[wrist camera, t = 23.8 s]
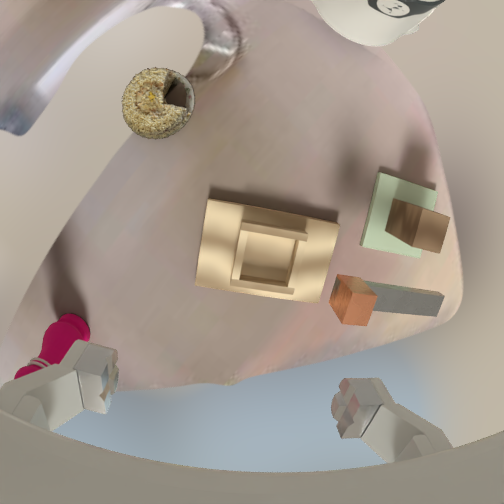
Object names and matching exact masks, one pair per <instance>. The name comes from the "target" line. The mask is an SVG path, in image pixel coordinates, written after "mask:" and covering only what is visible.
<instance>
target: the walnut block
mask: <svg viewBox="0 0 504 504" xmlns="http://www.w3.org/2000/svg"><path fill="white" fill-rule="evenodd" d="M449 220H450V217H448V216H445V215H442V214H440V213H437V212H434V211H432V210H429V209H426V208H423V207H421V206H418V205H414V204H411V203H408V202H405V201H401V200H398V199H395V198H393V201H392V205H391V209H390V213H389V216H388V220H387V224H386V228H385V231H386V232H387V233H389V234H391V235H393V236H394V237H396V238H398V239H399V240H401V241H403V242H405V243H406V244H408V245H410V246H411V247H414V248H419V249H423V250H427V251H431V252H435V253H440V251H441V248H442V245H443V241H444V238H445V235H446V231H447V227H448V224H449Z"/></svg>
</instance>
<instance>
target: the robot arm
mask: <svg viewBox="0 0 504 504" xmlns="http://www.w3.org/2000/svg"><path fill="white" fill-rule="evenodd" d="M311 1H312V2H313V4H314V5H315V7H316V9H317V11H318V12H319V14H320V15H321V17H322V18H323V19H324V21H325V22H326V23H327V24H328V25H329V26H330V27H331V28H332V29H334V30H335V31H336V32H337V33H339V34H340V35H342V36H344V37H345V38H347V39H349V40H351V41H354V42H356V43H359V44H363V45H367V46H384V45H388V44H390V43H392V42H394V41H395V40H397V39H398V38H399V37H400V36H402V35H406V34H413V33H415V32H416V31H417V30H418V29H419V23H420V22H421V21H422V20H424V19H425V18H426V17H428V16H429V15H430V14H432V13H433V11H434V9H435V8H437V7H438V6H439V5H440V4H441V3H442V2H444V1H445V0H311ZM117 360H118V353H117V350H116V349H113V348H109V347H105V346H101V345H98V344H94V343H90V342H86V341H83V340H79V339H78V340H76V341H75V342H74V344H73V345H72V346H71V348H70V349H69V351H68V352H67V353H66V355H65V356H64V358H63V359H62V361H61V362H60V364H59V365H58V364H53V365H51V366H48V367H45V368H43V369H40V370H38V371H35V372H33V373H30V374H28V375H25V376H22V377H20V378H17V379H15V380H12V381H9V382H7V383H5V384H4V385H3V386H2V387H1V389H0V504H504V431H501V432H499V433H497V434H494V435H491V436H489V437H486V438H483V439H480V440H477V441H475V442H471V443H468V444H465V445H462V446H459V447H456V448H453V446H452V445H451V443H450V442H449V440H448V439H447V437H446V436H445V434H444V433H443V431H442V430H441V429H439V428H438V427H436V426H434V425H433V424H431V423H430V422H428V421H426V420H425V419H423V418H421V417H420V416H418V415H416V414H415V413H413V412H411V411H410V410H408V409H406V408H405V407H403V406H401V405H400V404H395V402H394V400H393V399H392V397H391V395H390V394H389V392H388V390H387V389H386V387H385V385H384V384H383V382H382V381H381V380H380V379H379V378H367V379H366V378H363V379H362V378H358V379H357V378H354V379H353V378H344V379H343V380H342V381H341V383H340V385H339V388H340V391H339V392H338V393H337V394H335V395H334V398H333V400H332V405H331V411H332V415H333V418H334V419H336V420H337V421H338V424H337V429H338V432H339V434H340V437H341V438H342V439H343V438H361V440H363V441H364V442H365V443H366V444H367V445H368V446H369V447H370V448H371V449H372V450H373V451H375V452H376V453H377V454H378V455H379V456H380V457H381V458H382V459H383V460H385V462H387V464H381V465H374V466H368V467H360V468H352V469H342V470H331V471H316V472H292V473H291V472H290V473H289V472H287V473H271V472H270V473H269V472H268V473H267V472H241V471H227V470H216V469H206V468H198V467H189V466H183V465H176V464H170V463H164V462H159V461H153V460H149V459H144V458H139V457H135V456H130V455H126V454H122V453H118V452H114V451H110V450H107V449H103V448H100V447H96V446H93V445H90V444H86V443H83V442H80V441H77V440H74V439H71V438H68V437H65V436H63V435H59V434H57V433H54V432H52V431H53V430H55V429H56V428H58V427H59V426H61V425H62V424H64V423H65V422H67V421H68V420H70V419H71V418H72V417H74V416H76V415H77V414H78V413H80V412H81V411H83V410H84V409H87V410H91V411H94V412H98V413H102V414H106V413H107V411H108V409H109V406H110V404H111V395H112V394H114V393H115V391H116V388H117V384H118V378H119V369H118V367H117V366H116V365H115V364H116V362H117Z"/></svg>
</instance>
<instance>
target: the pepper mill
mask: <svg viewBox="0 0 504 504" xmlns="http://www.w3.org/2000/svg"><path fill="white" fill-rule="evenodd" d="M78 339H79V340H83V341H86V342H88V341H89V339H90V331H89V328H88V326H87V324H86V323H85V321H84V320H83V319H81V318H80V317H79V316H77V315H75V314H64V315H63V316H62V317H61V318H60V319H59V320H58V321H57V322H55V323H53V324H51V325H50V326H49V327H48V329H47V330H46V332H45V335H44V338H43V344H42V350H41V353H40V355H39V356H38V357H37V358H33V359H31V360H30V362H29V363H28V364H27V366H25V367H22V368H21V369H19V370H18V371H17V373H16V375H15V378H14V380H15V379H17V378H20V377H22V376H25V375H28V374H30V373H33V372H35V371H38V370H40V369H43V368H45V367H48V366H51V365H53V364H58V365H59V364H60V362H61V361H62V359H63V358H64V356H65V355H66V353H67V352H68V351H69V349H70V348H71V346H72V345H73V344H74V342H75V341H76V340H78Z"/></svg>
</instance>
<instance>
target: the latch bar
mask: <svg viewBox="0 0 504 504" xmlns="http://www.w3.org/2000/svg"><path fill="white" fill-rule="evenodd" d="M444 297H445V296H443V295H442V294H441V293H439V292H436V291H429V290H422V289H416V288H409V287H402V286H395V285H389V284H382V283H375V282H369V281H363V280H362V279H361V278H359V277H352V276H346V275H340V274H337V277H336V280H335V284H334V287H333V290H332V294H331V297H330V300H329V304H330V305H331V307H332V308H333V310H334V312H335V313H336V315H337V317H338V318H339V320H340V321H341V323H342V324H348V325H359V326H367V324H368V321H369V319H370V316H371V313H372V311H382V312H392V313H402V314H413V315H424V316H437V314H438V312H439V309H440V307H441V304H442V302H443V299H444Z"/></svg>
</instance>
